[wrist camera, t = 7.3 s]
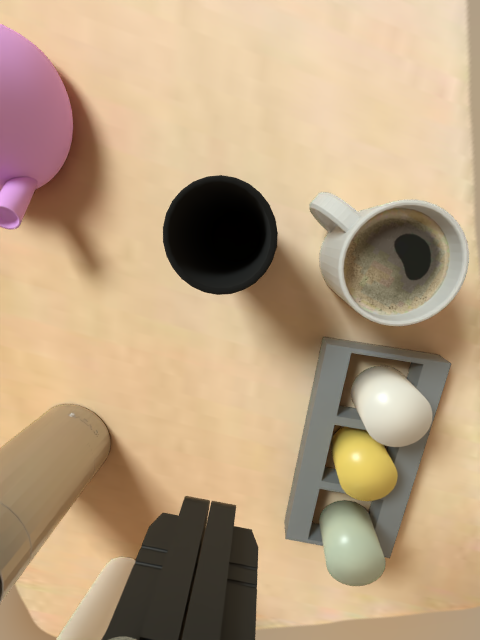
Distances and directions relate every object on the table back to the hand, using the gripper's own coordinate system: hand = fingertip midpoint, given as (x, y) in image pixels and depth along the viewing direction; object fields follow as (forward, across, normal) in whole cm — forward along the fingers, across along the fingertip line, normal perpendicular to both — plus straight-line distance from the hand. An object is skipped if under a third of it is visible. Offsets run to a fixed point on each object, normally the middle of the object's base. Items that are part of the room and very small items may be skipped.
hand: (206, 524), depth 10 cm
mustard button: (+27, -14, +13) cm, 33 cm away
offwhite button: (+24, -14, +5) cm, 28 cm away
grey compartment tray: (+27, -14, +13) cm, 33 cm away
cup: (+27, +3, -8) cm, 28 cm away
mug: (+27, -9, -8) cm, 30 cm away
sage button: (+24, -14, +21) cm, 35 cm away
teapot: (+27, +26, -15) cm, 40 cm away
